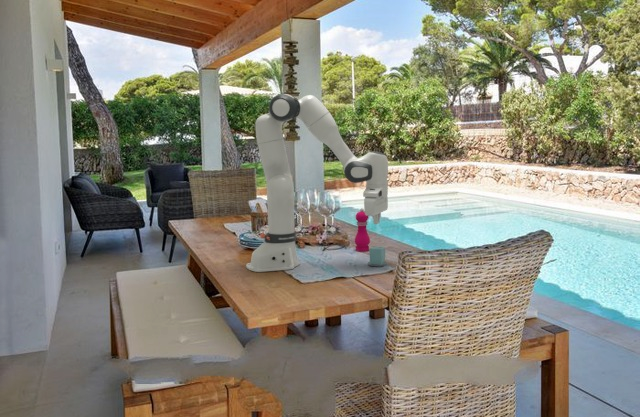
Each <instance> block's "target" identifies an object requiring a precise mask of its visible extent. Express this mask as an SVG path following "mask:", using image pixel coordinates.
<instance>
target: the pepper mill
mask: <svg viewBox="0 0 640 417" xmlns="http://www.w3.org/2000/svg"><path fill="white" fill-rule="evenodd" d="M359 209H360V210H359V211H358V212H357V213H356V214H355V221H356V225H357V233H356V235H355V236H354V244H355V245H356V246H355V251H356V252H363V253H364V252H368V251H369V249H370V246H369V245H370V242H371V238H370V236H369V234H368V231H367V230H368V229H367V226H368V220H369V216H366V215H365V211H364V208H363V207H361V208H359Z"/></svg>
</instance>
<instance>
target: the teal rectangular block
mask: <svg viewBox="0 0 640 417" xmlns="http://www.w3.org/2000/svg"><path fill="white" fill-rule="evenodd" d="M368 257H369V262H370V264H374V265H382V264H384V263H385V262H386V247H385V246H375V245H374V246H371V247H369V256H368Z"/></svg>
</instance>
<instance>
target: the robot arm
mask: <svg viewBox="0 0 640 417" xmlns="http://www.w3.org/2000/svg"><path fill="white" fill-rule="evenodd" d="M268 111H269V112H268V113H265V114H262V115H260V116H259V117H258V118H257V119H255V136H256V143H257V148H258V153H259V157H260V162H261V165H262V166H261V167H262V170H263V174H264V177H265V182H266V198H267V230H268V232H267V233H266V234H265V233H264V232H262V233H261V234H260V238H261V239H264V242H262V244H260V245H259V246H258V247H257V248H256V249H255V250H253V251H252V254H251V260H250V262H247V263H246V265H245V268H246V269H247V270H249V271H252V272H256V273H263V272H275V271H287V270H293V269H294V268H295V267H298V266H299V265H300V262H299V258H298V255H297V248H296V244H297V234H296V231H295V188H294V182H293V177H292V172H291V168H290V162H289V159H288V158H289V157H288V154H287V149H286V143H285V138H284V133H283V124H285V123H286V122H288V121H291V120H293V119H294V118H297V119H299V120H300V121H301V122H303V124H304V125H305V127H306V128H307V130H308V131H309V132H310V133H311V134H312V135H313V137H315V139H317V140H318V141H319V142H320V143H323V144H324V145H325V146H327V147H328V148H329V149H330V150H331V151H332V153H333V154H334V155H335V157H337V159H338V160H339V162H340V163H341V166H342V168H343V173H344V176H345V178H346V180H348V181H349V182H350V183H353V184H359V183H363V182H366V186H365V189H364V190H363V193H362V196H363V198H364V200H363V203H364V204H363V206H364V208H363V209H364V212H365V215H366V216H368V217H372V219H373V220H372V222H373V224H374V225H379V224H380V221H381V216H382V213H383V212H385V211H388V206H389V204H388V203H389V202H388V199H389V198H388V191H389V187H388V186H389V183H388V175H389V160H388V157H387V155H386V154H385V153H382V152H379V151H372V150H371V151H368V152H367V153H366V154H364V155H362V156H360V157H358V156H356V155H355V154H354V153H353V152H352V151H351V149H350V148H349V146H348V145H347V144H346V143H345V140H343V138H342V135H341V134H340V130H339V128H338V125H337V122H336V121H335V119H334V117H333V115H332V114H331V112H330V111H329V110H328V108H326V106H325V105H324V104H323V103H322V102H321V100H319V98H317V97H316V96H315V95H313V94H307V95H304V96H303V97H301V98H299V99H297V98H295V97H294V96H292V95H291V94H288V93H279V94H276V95H275V96H273V97H272V98H271V100H270V101H269V104H268Z"/></svg>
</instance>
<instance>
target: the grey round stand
mask: <svg viewBox="0 0 640 417" xmlns="http://www.w3.org/2000/svg"><path fill="white" fill-rule="evenodd" d="M367 265H368V266H369V267H372V266H373V268H382V267H386V266H387V265H388V262H387V261H385V263H384V264H382V265H374V264H370V261H368V262H367Z"/></svg>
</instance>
